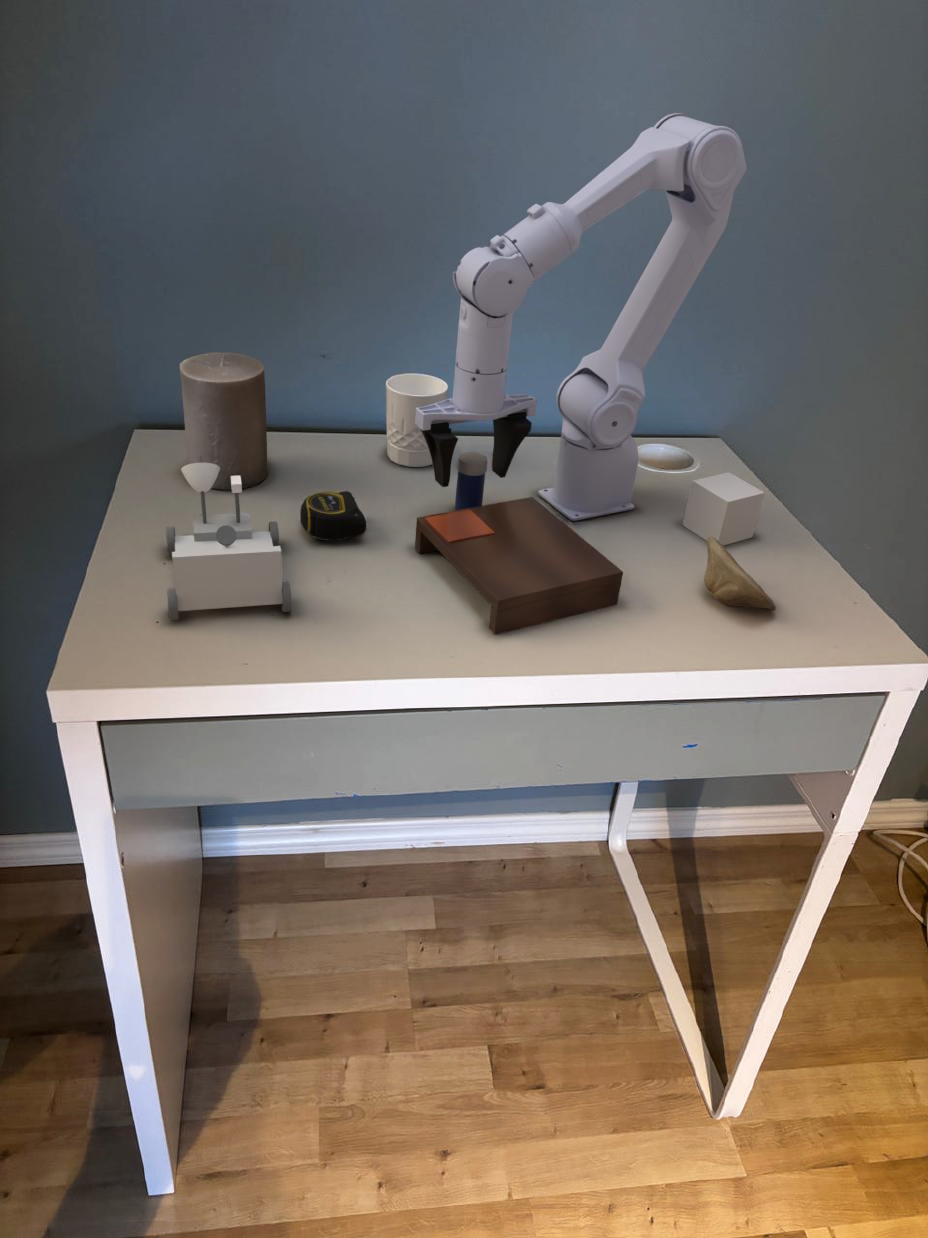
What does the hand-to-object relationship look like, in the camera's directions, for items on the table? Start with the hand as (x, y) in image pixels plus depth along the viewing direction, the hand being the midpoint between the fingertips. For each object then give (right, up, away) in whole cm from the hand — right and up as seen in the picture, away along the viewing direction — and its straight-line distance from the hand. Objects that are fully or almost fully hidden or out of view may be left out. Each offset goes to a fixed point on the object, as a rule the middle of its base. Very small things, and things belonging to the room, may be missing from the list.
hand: (470, 478), depth 115 cm
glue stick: (0, -4, +3) cm, 5 cm away
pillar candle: (-30, +2, +7) cm, 31 cm away
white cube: (+30, -6, +5) cm, 31 cm away
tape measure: (-15, -6, -3) cm, 17 cm away
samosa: (+28, -15, -9) cm, 33 cm away
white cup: (-8, +5, +15) cm, 18 cm away
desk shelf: (+5, -12, -8) cm, 15 cm away
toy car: (-26, -12, -12) cm, 31 cm away
